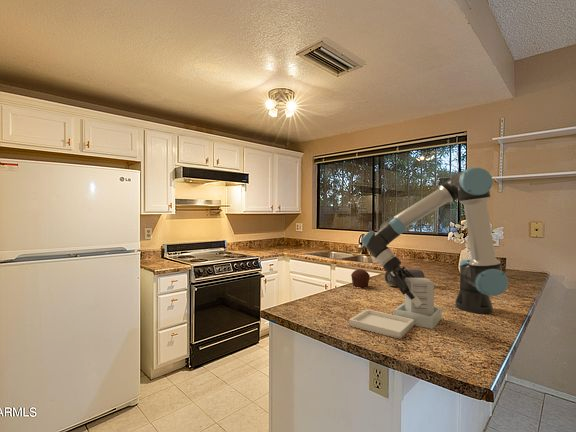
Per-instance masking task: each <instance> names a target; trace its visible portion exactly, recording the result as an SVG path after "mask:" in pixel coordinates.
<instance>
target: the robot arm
mask: <svg viewBox="0 0 576 432" xmlns="http://www.w3.org/2000/svg"><path fill="white" fill-rule="evenodd" d="M493 180H494V179H493V176H492V175H491V173H490V172H489V171H488V170H486V169H485V168H482V167H469V168H466V169H465V170H462V171H459V172H457V173H456V174H454V175H453V176H452V177H451V178H449V179H448V180H446V181H445V182H444V183H442V184H441V185H439V187H438V189H437V190H435V191H433V192H431V193H430V194H428V195H427V196H425V197H423V198H422V199H420V200H419V201H417V202H415V203H413V204H412V205H411V206H409V207H407V208H405V209H404V210H402V211H401V212H398V214H396V215H394V216H393V217H391V218H389V219H388V220H386V221H385V220H384V222H382V223H381V224H380V227H379V230H377V231H376V232H375V231H374V230H370V231H368V232H366V233H365V234H364V235H363V236H362V238H361V243H362V244H363V246H364V247H365V248H366V249H367V251H368V252H369V253H370V254H371V255H372V256H373V258H375V259H376V261H377V264H380V266H382V267H383V269H384V271H386V272H388V273H390V272H391V273H390V276H391V277H392V278H393V280H394V281H395V283H396V285H397V288H398V290H399V291H400V293H401V295H404V296H405V294H406V295H407V296H408V297H409V298H410V299H411V301H412V302H413V303H414V304H415V305H416V306H417V307H418V306H420V305H421V304H422V302H421V300H420V299H419V298H418V297H417V296H416V295H415V294H414V292H413V291H412V290H410V289H409V287H408V285H407V283H406V281H405V278H416V277H415V276H414V275H413V274H411V273H410V272H409V271H408V270H407V269H408V268H406V267H405V266H403V265H402V267H401V264H402V261H401V260H400V259H399V258H398V257H397V256H396V255H395V253H394V252H393V251H392V250H391V249H390V248H389V247H388V245H389V244H390V243H392V242H393V241H395V239H397V238H398V237H399V236H401V235H402V234H403V233H404V232H405V231H406V230H407V227H410V226H411V225H412V224H415V223H416V222H418V221H419V220H422V219H423V218H425V217H426V216H427V215H429V214H431V213H432V212H434V211H436V210H437V209H439V208H440V207H442V206H444V205H446V204H448V203H453V202H455V201H457V200H458V201H459V203H460V204H462V205H463V207H464V215H465V216H464V217H465V221H466V228H467V235H468V241H469V248H470V254H471V259H461V260H460V265H459V291H458V294H457V296H456V299H455V301H454V302H455V304H454V305H455V307H456V308H457V309H459V310H461V311H466V312H468V313H474V314H490V313H492V312H493V311H494V307H493V303H492V300H491V297H496V296H499V295H501V294H503V293H504V292H505V291H506V290H507V288H508V286H509V278H508V275H506V273H504V272H503V268H502V263H501V261H500V260H499V259H498V258H496V252H495V247H494V239H493V232H492V227H491V221H490V214H489V207H488V201H489V200H490V199H491V191H490V190H491V189H492V187H493V184H494V181H493ZM396 285H395V286H396ZM409 290H410V291H409Z"/></svg>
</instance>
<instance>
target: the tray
mask: <svg viewBox="0 0 576 432" xmlns="http://www.w3.org/2000/svg"><path fill="white" fill-rule="evenodd" d="M348 326H349V327H351V326H352V327H353V328H355V327H356V329H359V328H360V330H363V331H366V330H367V332H370V331H371V332H370V333H374V332H375V334H378V333H379V334H378V335H382V334H383V336H385V335H387V336H386V337H389V336H391V337H390V338H393V337H394V338H393V339H397V338H398V339H397V340H401V339H402V338H403V337H405V335H406V334H407V333H408V332H409V331H410V330H412V329H413V328H414V326H415V325H414V319H410V318H405V317H401V316H396V315H394V314H391V313H386V312H381V311H377V310H372V309H368V308H366V309H364V310H363V311H360V312H359V313H358V314H356V315H354V316H352V317H351V318H349V319H348Z"/></svg>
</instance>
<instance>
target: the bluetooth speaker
mask: <svg viewBox="0 0 576 432" xmlns="http://www.w3.org/2000/svg"><path fill="white" fill-rule="evenodd" d="M406 269H407V270H408V271H409V272H410V273H411V274H413V275H414V276H415V277H416V278H426V277H425V273H424V272H423V270H422V269H417V268H416V269H415V268H412V269H411V268H410V269H409V268H406ZM390 273H391V272H390ZM390 273H388V272H387V271H386V272H385V274H384V281H385V283H386V284H387V285H388V286H389V285H390V286H397V285H396V283H395V281H394V280H393V278H392V277H391V276H390ZM397 287H398V286H397Z"/></svg>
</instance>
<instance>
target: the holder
mask: <svg viewBox="0 0 576 432" xmlns="http://www.w3.org/2000/svg"><path fill="white" fill-rule="evenodd" d="M442 310H443V309H442V308H441V307H438V306H437V307H436V306H434V313H433V314H432V315H431V316H427V315H422V314H418V313H413V312H408V311H405V301H404V302H403V303H401V304H399V306H397V307H395V308H394V309H393V315H396V316H401V317H405V318H410V319H414V326H418V327H422V328H427V329H430V330H434V328H435V327H436V325H437V324H439V322H440V321H441V320H442V317H443V316H442V313H443V312H442Z"/></svg>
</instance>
